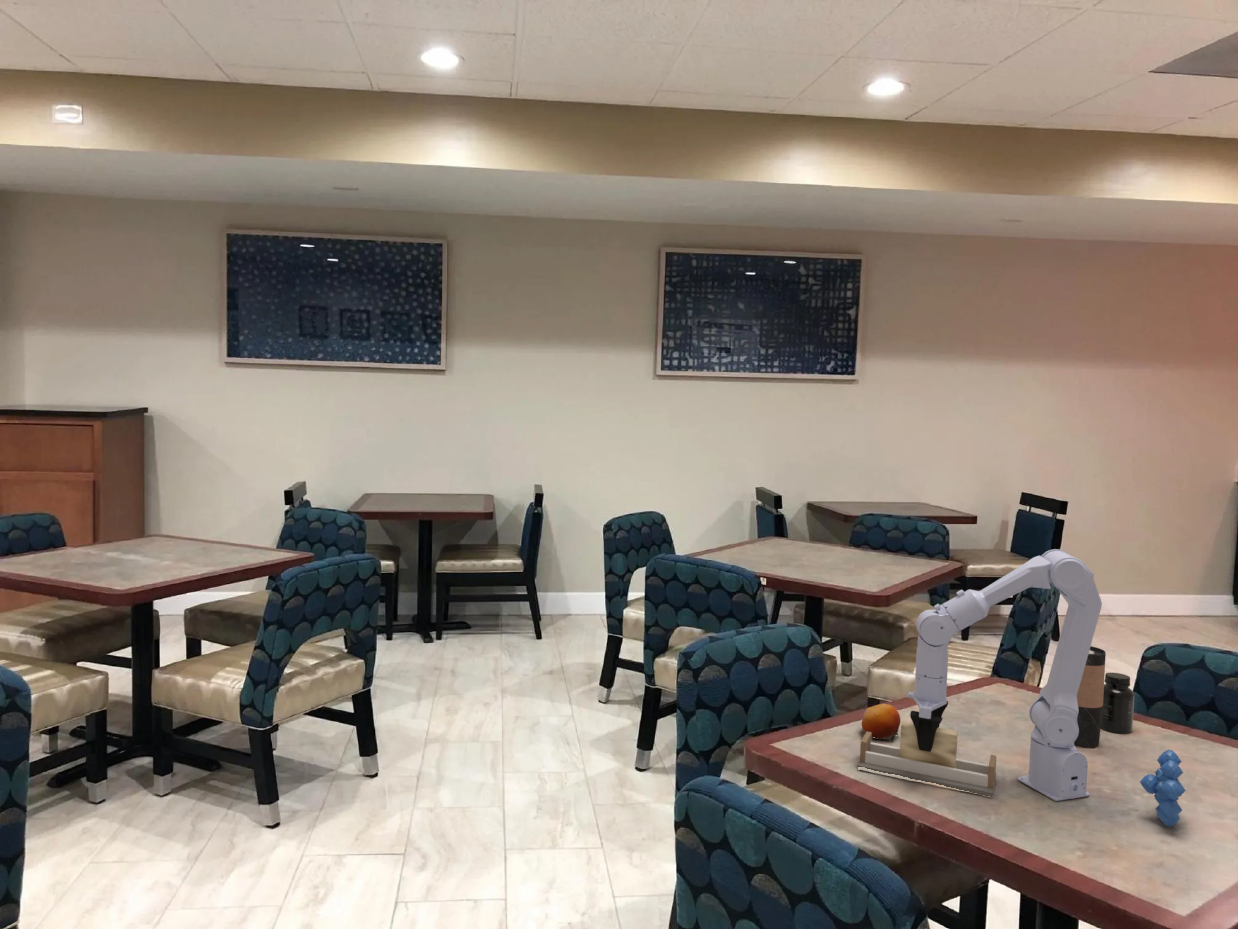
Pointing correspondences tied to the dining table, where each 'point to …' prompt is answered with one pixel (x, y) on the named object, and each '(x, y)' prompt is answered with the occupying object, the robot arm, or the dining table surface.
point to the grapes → (1166, 787)
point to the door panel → (941, 749)
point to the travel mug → (1091, 699)
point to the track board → (929, 768)
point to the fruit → (881, 721)
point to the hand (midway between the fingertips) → (927, 743)
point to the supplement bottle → (1117, 704)
